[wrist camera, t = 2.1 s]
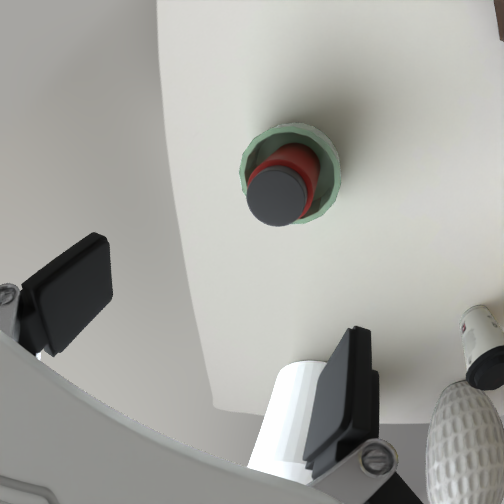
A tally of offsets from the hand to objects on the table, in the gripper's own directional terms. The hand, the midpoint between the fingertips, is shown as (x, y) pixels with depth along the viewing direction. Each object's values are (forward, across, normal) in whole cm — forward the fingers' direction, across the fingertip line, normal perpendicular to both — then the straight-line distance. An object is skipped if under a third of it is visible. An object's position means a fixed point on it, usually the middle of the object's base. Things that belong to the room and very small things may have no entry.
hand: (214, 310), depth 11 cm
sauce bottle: (+21, 0, 0) cm, 21 cm away
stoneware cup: (+22, 0, 0) cm, 22 cm away
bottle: (+22, -12, +30) cm, 39 cm away
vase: (+22, -36, +24) cm, 48 cm away
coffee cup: (+22, -28, +10) cm, 37 cm away
